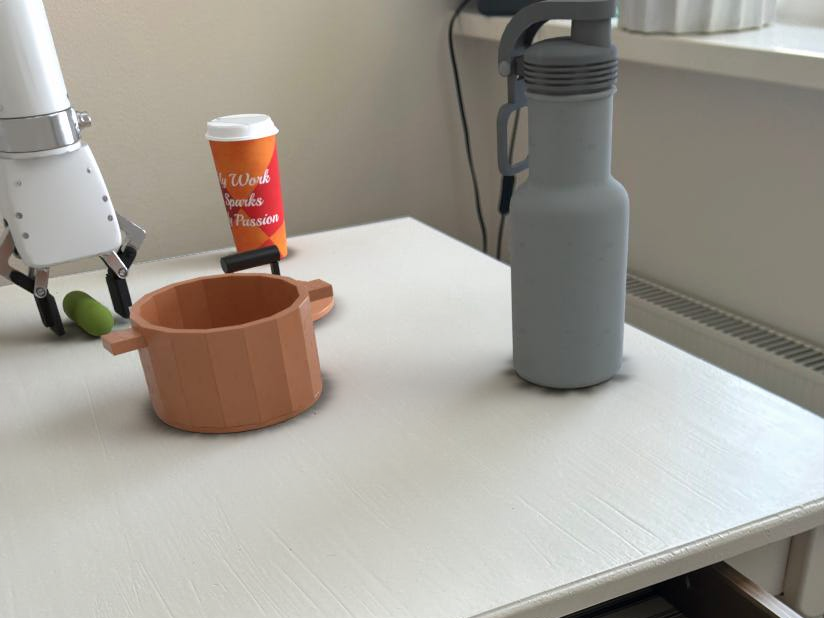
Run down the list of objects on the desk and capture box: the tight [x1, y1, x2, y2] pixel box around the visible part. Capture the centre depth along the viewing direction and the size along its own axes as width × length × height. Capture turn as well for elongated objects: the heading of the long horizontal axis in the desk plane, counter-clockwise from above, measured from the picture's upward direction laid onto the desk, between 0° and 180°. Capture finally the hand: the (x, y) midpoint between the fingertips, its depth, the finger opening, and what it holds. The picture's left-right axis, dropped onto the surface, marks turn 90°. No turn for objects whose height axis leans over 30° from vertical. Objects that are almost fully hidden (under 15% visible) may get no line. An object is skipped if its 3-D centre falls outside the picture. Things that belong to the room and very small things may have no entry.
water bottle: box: [495, 0, 630, 390], centre depth 79 cm, size 10×10×28 cm
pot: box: [100, 272, 334, 434], centre depth 84 cm, size 15×20×8 cm
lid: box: [219, 245, 335, 322], centre depth 101 cm, size 16×16×6 cm
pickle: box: [62, 289, 115, 337], centre depth 101 cm, size 9×3×3 cm, turn 37°
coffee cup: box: [204, 113, 288, 259], centre depth 115 cm, size 8×8×15 cm
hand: (90, 322), depth 102 cm, fingers open, 6 cm apart
